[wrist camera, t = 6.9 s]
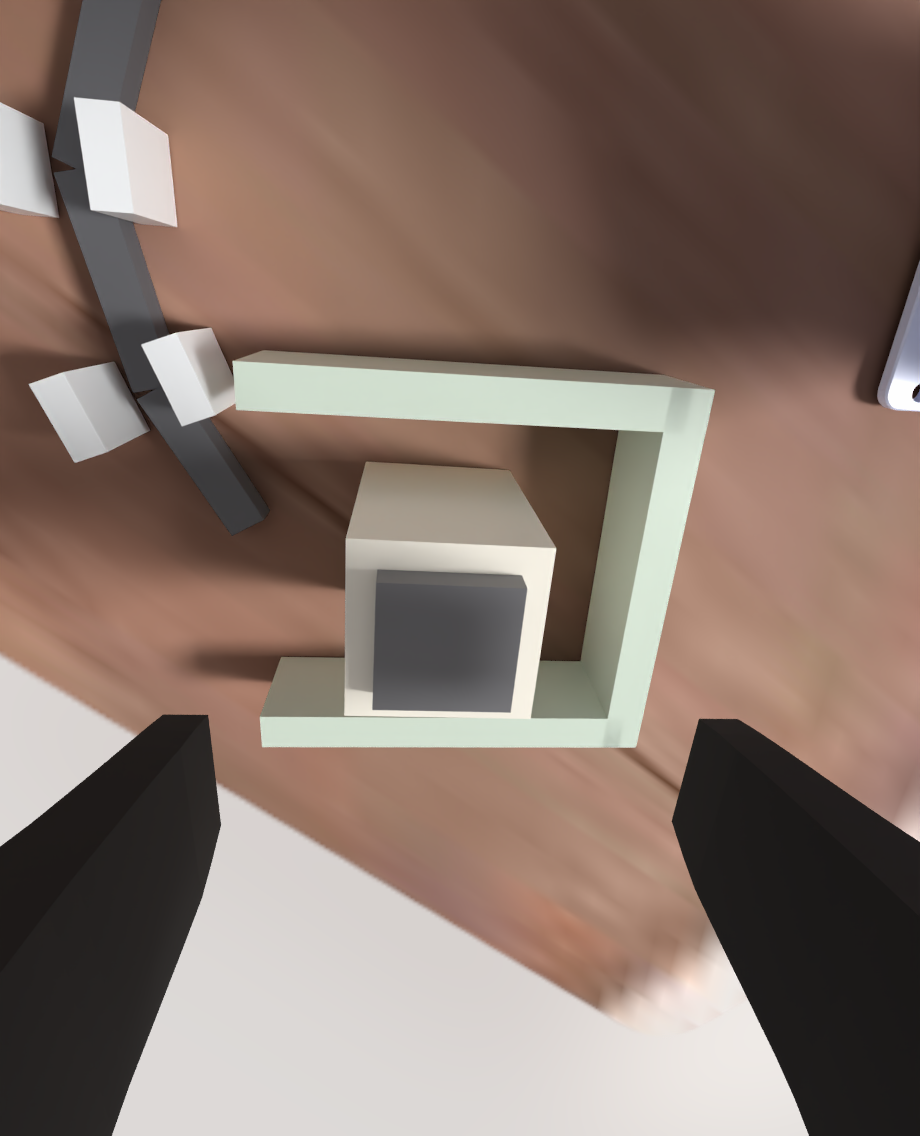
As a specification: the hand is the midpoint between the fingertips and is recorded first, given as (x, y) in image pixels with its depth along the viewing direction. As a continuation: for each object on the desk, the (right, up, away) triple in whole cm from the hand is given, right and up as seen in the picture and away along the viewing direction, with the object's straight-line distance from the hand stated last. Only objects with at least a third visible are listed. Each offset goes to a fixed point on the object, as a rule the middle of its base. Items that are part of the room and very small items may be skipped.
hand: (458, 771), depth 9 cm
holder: (0, +4, +9) cm, 10 cm away
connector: (-1, +4, +9) cm, 10 cm away
